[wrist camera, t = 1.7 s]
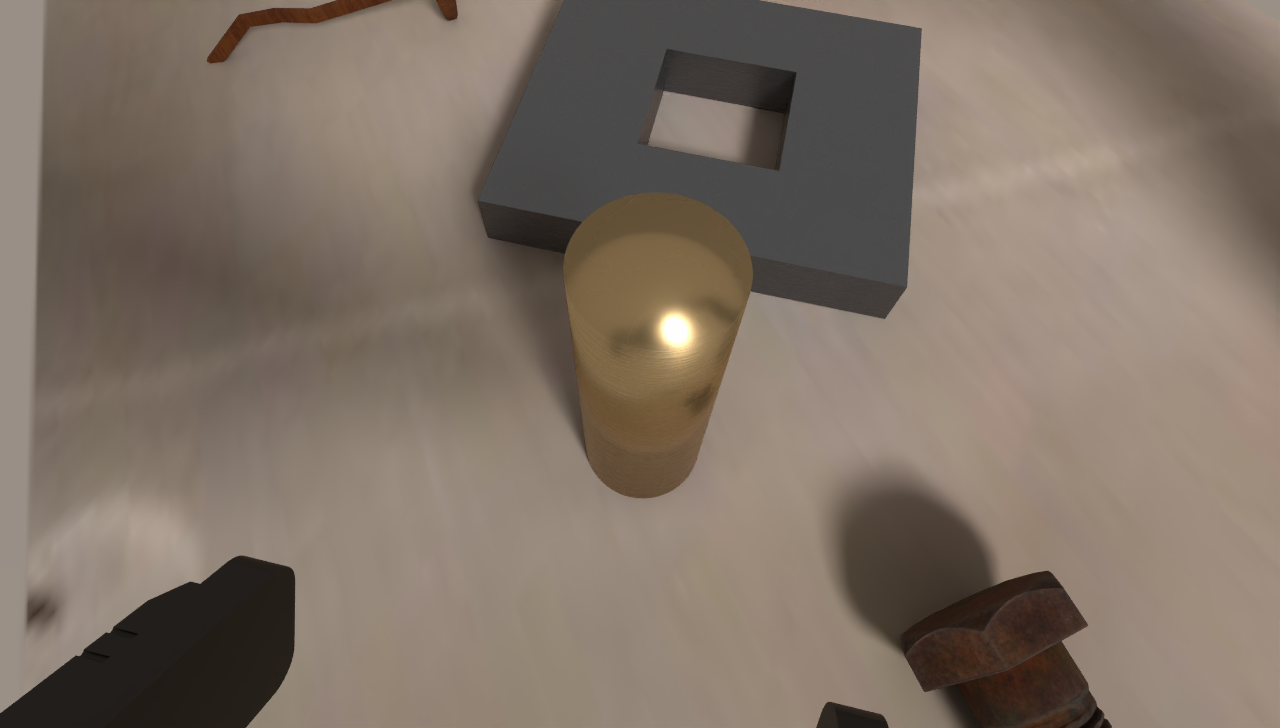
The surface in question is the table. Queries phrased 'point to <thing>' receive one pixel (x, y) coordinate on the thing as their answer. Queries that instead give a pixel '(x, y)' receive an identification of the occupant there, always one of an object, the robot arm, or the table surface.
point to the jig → (745, 195)
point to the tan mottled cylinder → (652, 333)
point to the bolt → (1008, 655)
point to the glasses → (300, 20)
